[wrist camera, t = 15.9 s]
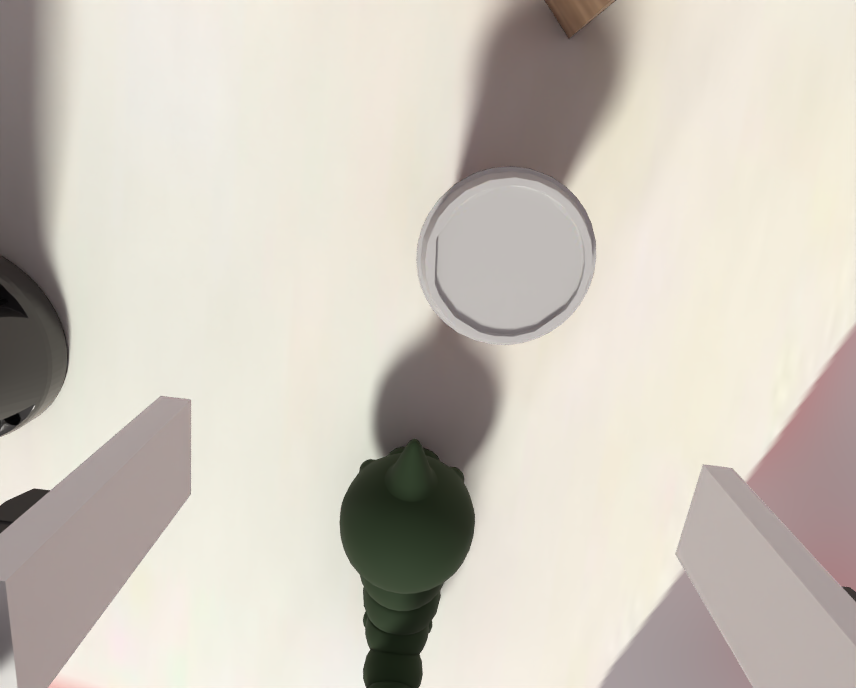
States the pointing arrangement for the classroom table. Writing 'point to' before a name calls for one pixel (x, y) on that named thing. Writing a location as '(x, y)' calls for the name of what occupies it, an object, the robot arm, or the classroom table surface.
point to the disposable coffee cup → (506, 255)
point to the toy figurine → (404, 553)
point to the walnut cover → (576, 12)
